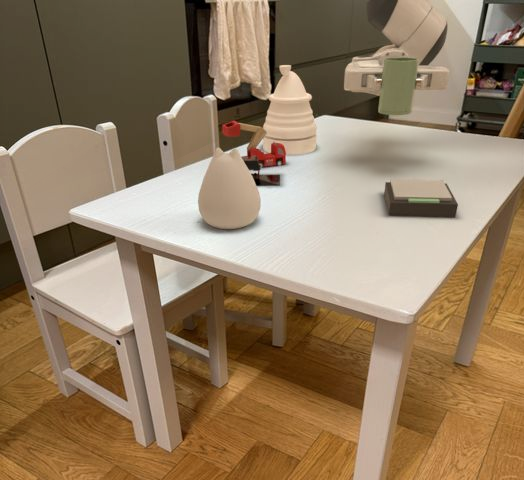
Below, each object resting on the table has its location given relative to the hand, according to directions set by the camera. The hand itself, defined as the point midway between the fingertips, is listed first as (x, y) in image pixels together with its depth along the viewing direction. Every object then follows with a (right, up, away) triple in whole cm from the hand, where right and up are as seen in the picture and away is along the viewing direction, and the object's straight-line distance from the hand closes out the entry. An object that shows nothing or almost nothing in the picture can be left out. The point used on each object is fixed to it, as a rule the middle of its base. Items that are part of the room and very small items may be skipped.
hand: (398, 84), depth 94 cm
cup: (0, -3, +4) cm, 5 cm away
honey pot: (-19, -1, +28) cm, 34 cm away
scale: (+2, -25, -5) cm, 25 cm away
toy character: (-31, -29, -9) cm, 43 cm away
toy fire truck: (-27, -10, +16) cm, 33 cm away
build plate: (-28, -16, +8) cm, 33 cm away
